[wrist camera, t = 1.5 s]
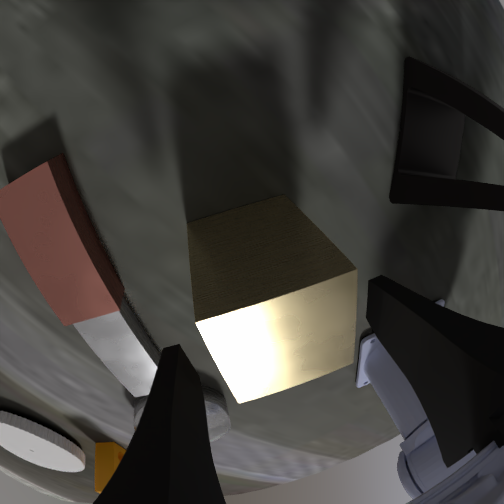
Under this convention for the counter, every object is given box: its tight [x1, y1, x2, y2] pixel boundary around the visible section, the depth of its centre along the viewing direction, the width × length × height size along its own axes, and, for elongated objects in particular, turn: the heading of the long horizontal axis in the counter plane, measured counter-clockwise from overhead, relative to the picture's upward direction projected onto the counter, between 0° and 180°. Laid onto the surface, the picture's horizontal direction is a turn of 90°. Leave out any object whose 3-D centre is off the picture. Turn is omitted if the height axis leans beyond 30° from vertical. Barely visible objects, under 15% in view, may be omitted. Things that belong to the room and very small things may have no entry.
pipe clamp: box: [95, 442, 126, 493], centre depth 24 cm, size 12×4×6 cm, turn 12°
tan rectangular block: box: [187, 195, 357, 403], centre depth 12 cm, size 5×5×7 cm
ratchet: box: [0, 153, 231, 442], centre depth 15 cm, size 8×25×5 cm, turn 13°
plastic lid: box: [0, 411, 85, 472], centre depth 20 cm, size 14×14×2 cm
